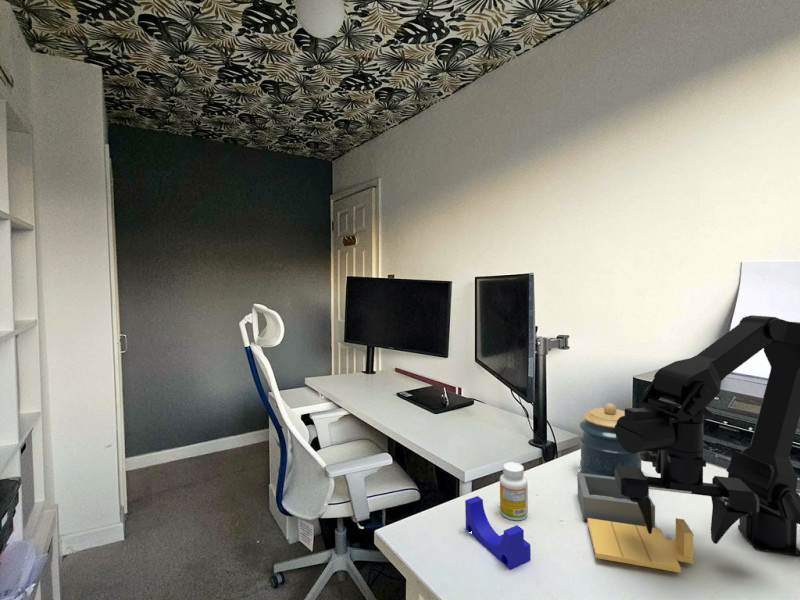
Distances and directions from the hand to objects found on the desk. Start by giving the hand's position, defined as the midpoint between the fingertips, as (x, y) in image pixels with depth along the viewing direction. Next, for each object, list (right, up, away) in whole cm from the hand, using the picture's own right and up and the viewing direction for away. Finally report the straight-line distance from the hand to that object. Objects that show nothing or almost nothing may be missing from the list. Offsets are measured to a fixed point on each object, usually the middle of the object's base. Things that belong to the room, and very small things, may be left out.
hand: (680, 537), depth 65 cm
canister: (+3, -3, +28) cm, 28 cm away
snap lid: (-6, -4, +2) cm, 7 cm away
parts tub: (-4, -3, +14) cm, 15 cm away
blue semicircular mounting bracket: (-29, -5, +5) cm, 30 cm away
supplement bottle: (-24, -4, +14) cm, 28 cm away
